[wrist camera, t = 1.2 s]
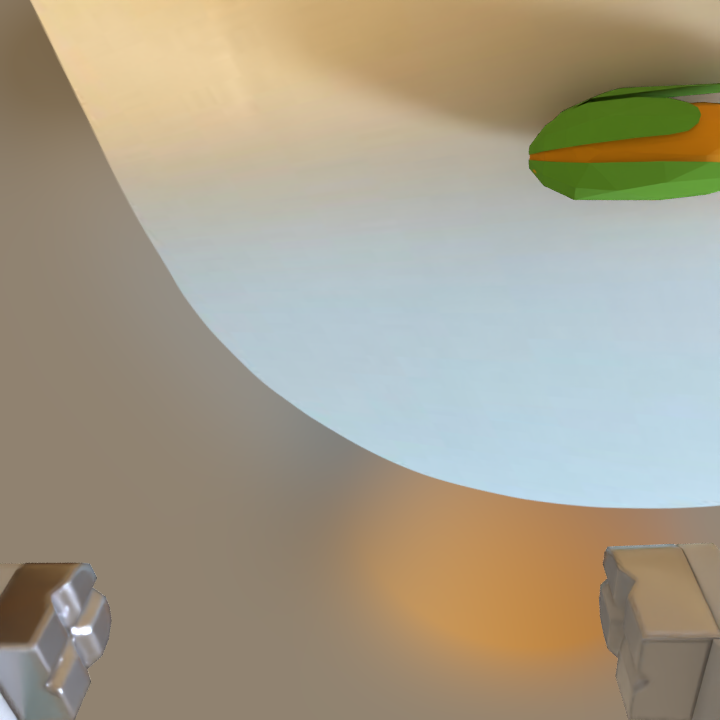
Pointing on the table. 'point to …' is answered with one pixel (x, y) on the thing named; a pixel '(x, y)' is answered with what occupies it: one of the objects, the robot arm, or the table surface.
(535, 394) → the table surface
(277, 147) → the table surface
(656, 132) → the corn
